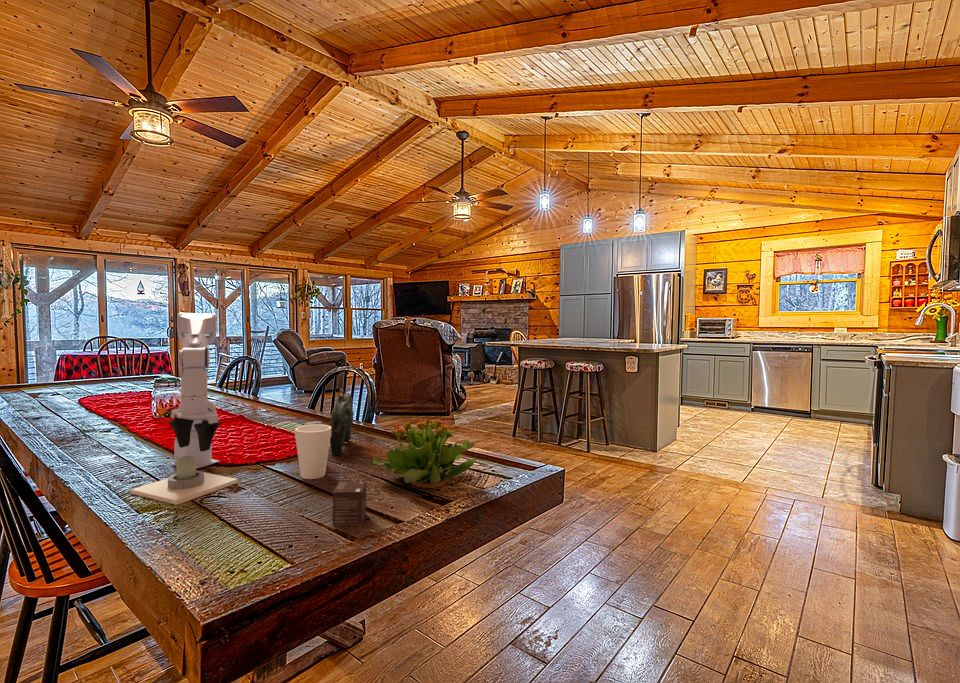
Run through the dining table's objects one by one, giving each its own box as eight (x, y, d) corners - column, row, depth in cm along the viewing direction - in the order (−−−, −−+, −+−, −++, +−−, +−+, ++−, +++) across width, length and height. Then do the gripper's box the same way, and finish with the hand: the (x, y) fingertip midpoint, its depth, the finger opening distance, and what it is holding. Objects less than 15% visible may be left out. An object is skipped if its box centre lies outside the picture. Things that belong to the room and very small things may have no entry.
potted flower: (440, 463, 140) (441, 405, 140) (496, 483, 124) (498, 418, 123) (367, 481, 123) (368, 416, 122) (421, 508, 106) (423, 432, 105)
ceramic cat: (337, 440, 165) (338, 383, 164) (356, 439, 165) (357, 384, 164) (325, 456, 145) (326, 392, 144) (346, 456, 146) (347, 392, 145)
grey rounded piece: (173, 485, 114) (172, 459, 114) (189, 479, 118) (188, 454, 118) (183, 487, 113) (183, 461, 112) (199, 482, 116) (199, 457, 116)
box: (338, 514, 102) (338, 481, 102) (366, 514, 102) (366, 481, 102) (332, 526, 96) (332, 491, 96) (361, 526, 96) (362, 491, 96)
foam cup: (288, 474, 127) (288, 427, 126) (320, 467, 133) (320, 422, 133) (305, 483, 120) (305, 434, 120) (337, 475, 127) (337, 428, 126)
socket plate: (131, 493, 111) (130, 481, 111) (194, 473, 126) (194, 463, 126) (176, 504, 105) (176, 491, 105) (237, 482, 120) (237, 471, 120)
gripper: (158, 394, 116) (159, 448, 116) (199, 399, 110) (199, 456, 111) (186, 391, 122) (186, 442, 123) (225, 395, 117) (225, 449, 117)
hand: (194, 448), depth 117 cm, fingers open, 7 cm apart
